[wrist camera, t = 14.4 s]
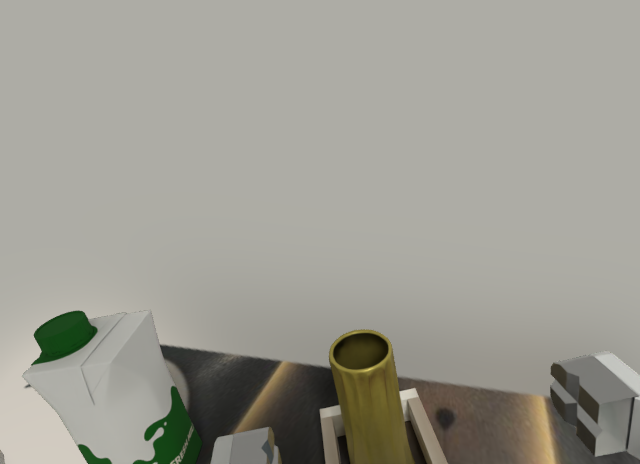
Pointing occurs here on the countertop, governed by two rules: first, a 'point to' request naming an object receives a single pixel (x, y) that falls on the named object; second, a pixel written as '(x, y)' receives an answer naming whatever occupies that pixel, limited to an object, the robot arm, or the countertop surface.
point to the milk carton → (113, 389)
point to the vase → (369, 398)
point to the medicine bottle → (1, 458)
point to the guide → (411, 411)
